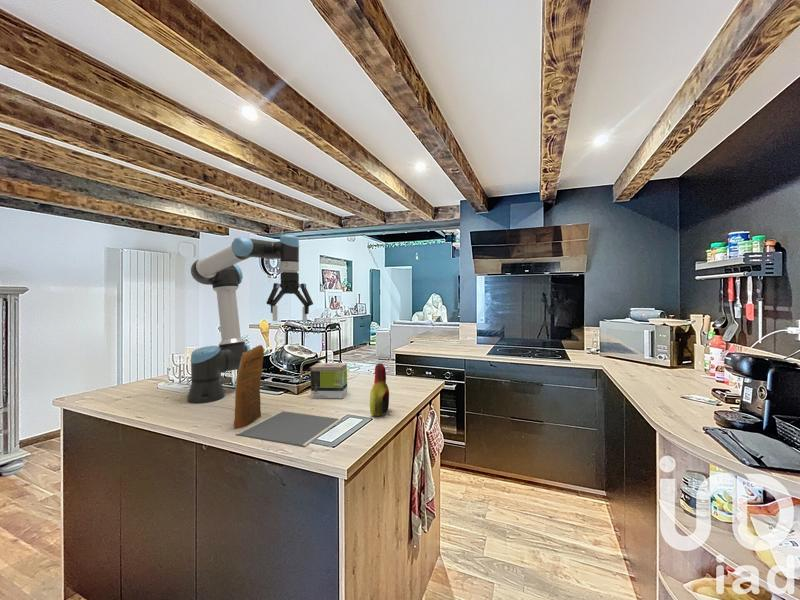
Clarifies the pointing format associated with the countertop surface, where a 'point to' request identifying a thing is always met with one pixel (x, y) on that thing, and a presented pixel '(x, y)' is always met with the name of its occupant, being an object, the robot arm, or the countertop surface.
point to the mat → (290, 428)
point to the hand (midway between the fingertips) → (289, 321)
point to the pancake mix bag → (248, 387)
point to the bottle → (379, 392)
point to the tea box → (329, 380)
